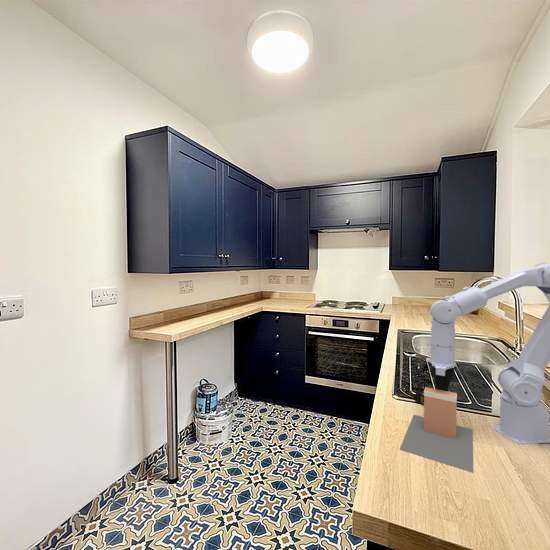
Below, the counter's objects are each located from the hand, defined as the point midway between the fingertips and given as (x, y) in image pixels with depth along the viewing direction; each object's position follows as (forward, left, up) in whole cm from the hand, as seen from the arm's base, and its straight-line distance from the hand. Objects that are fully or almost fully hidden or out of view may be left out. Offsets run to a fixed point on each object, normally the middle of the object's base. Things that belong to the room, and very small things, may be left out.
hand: (442, 394), depth 81 cm
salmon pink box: (+4, +5, -7) cm, 10 cm away
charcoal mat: (+7, +8, -8) cm, 13 cm away
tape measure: (-3, -11, -8) cm, 14 cm away
